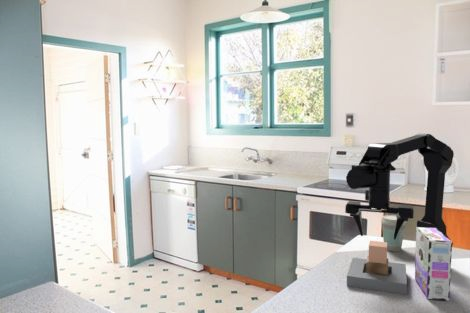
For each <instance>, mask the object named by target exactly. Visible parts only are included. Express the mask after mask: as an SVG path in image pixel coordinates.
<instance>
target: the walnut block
mask: <svg viewBox="0 0 470 313" xmlns="http://www.w3.org/2000/svg"><path fill="white" fill-rule="evenodd" d="M366 259H367V262H366V273H369V274H376V275H384V276H388V262H389V257H387V263H386V264H382V263H374V262H368V261H369V255H367V258H366Z"/></svg>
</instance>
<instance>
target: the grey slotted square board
mask: <svg viewBox="0 0 470 313" xmlns="http://www.w3.org/2000/svg"><path fill="white" fill-rule="evenodd" d="M366 262H367V258H360V257H352V258H351V262H350V264H349V268H348V271H347V273H346V274H347V275H346V286H347V287H353V288H359V289H366V290H367V289H368V290H372V291H373V290H374V291H379V292H386V293H393V294H394V293H395V294H400V295H401V294H402V295H407V288H408V286H407V284H408V283H407V280H408V279H407V264H406V263H400V262H392V261H388V276H384V275H376V274H369V273H366Z"/></svg>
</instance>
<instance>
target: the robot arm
mask: <svg viewBox="0 0 470 313" xmlns="http://www.w3.org/2000/svg"><path fill="white" fill-rule="evenodd" d="M367 146H368V147H367V149H366V151H365V152H364V155H363V156H362V158H361V160H360V161H359V163H358V164H357V165H356V164H352V165H351V169H349V170H348V171H347V173H346V176H345V178H346V183H347V186H348V187H349V188H350V189H352V190H357V189H366V188H367V189H368V190H367V189H366V190H365V194H364V200H365V201H366V202H368V204H362V203H361V201H357V200H356V201H355V200H349V201H347V203H346V204H345V206H344V207H345V211H344V212H345V214H349V217H351V218H353V220H354V221H355V223H356V226H357V229H358V230H359V231H358V232H359V234H360V237H363V236H364V229H363V219H362V218H363V216H362V212H367V213H368V212H371V213H383V214H392V215H396V216H397V219H396V225H395V231H394V240H395V239H396V237H397V234H398V232H399V229H400V227H401V226H402V224H403V223H404V221H406V222H409V219H414V212H415V211H414V207H413V206H412V205H410V204H402V203H401V204H398V207H395V206H390V200H391V198H390V190H391V189H390V186H391V185H390V183H391V182H390V180H391V171H393V172H394V171H396V170H397V169H396V167H395V166H393V165H392V163H393V162H395V161H398V159H399V157H401V156H402V155H404V154H405V155H406V154H408V153H411V152H414V151H417V152H418V153H419V154H420V155H421V156H422V157H423V158H422V160H423V165H424V167H425V169H426V171H427V181H426V194H425V204H424V207H425V208H424V214H423V217H422V218H421V219H420V220H419V219H418V220H417V222H416V227H426V228H437V229H438V230H439V231H440V232H441V233H442V234H443V235H445V236H446V237H447V238H448V239H449V240H451V239H450V237H449V236H448V235H447V225H446V223H445V222H444V220H443V205H444V194H445V193H444V192H445V181H446V173H447V172H448V171H449V170H450V168H451V167H452V165H453V159H454V154H455V153H454V150H453V149H452V148H451V147H450V146H448V145H447V144H446V143H445V142H443V141H441V140H439V139H438V138H436V137H435V136H433V135H432V134H430V133H417V134H414V135H411V136H408V137H406V138H402V139H399V140H395V141H392V142H379V143H378V142H377V143H375V142H374V143H370V144H369V145H367ZM453 245H454V243H453V241H452V246H453Z"/></svg>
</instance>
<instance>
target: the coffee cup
mask: <svg viewBox="0 0 470 313" xmlns="http://www.w3.org/2000/svg"><path fill="white" fill-rule="evenodd" d="M396 219H397V214H388V215H387V214H386V215H383V216H382V218H381V220H380V223H381V226H382V237H383V242H387V252H401V251H402V247H403V240H404V234H405V227H406V226H405V225H407V223H406V222H407V221H404V223H403V224H402V226H401V227H400V229H399V232H398V234H397V237H396V239H395V240H394V231H395V225H396Z"/></svg>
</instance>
